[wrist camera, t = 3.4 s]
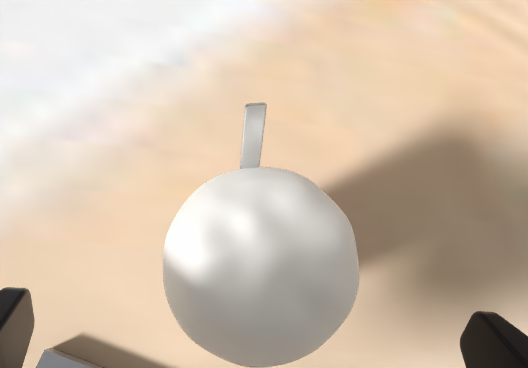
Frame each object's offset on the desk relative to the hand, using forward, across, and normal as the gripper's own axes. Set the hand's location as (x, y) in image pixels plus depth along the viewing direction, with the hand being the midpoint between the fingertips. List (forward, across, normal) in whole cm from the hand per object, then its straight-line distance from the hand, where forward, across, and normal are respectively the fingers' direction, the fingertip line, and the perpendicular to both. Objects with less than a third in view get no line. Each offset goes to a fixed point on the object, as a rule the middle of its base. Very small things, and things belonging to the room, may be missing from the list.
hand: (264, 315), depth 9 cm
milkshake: (+8, 0, +6) cm, 9 cm away
